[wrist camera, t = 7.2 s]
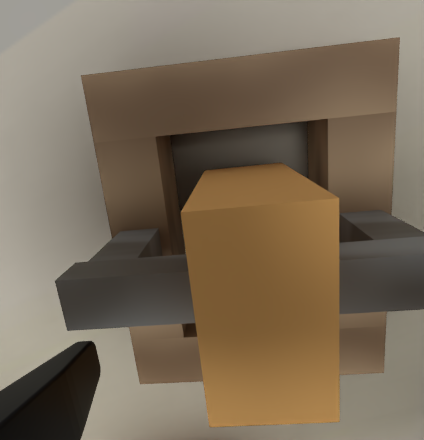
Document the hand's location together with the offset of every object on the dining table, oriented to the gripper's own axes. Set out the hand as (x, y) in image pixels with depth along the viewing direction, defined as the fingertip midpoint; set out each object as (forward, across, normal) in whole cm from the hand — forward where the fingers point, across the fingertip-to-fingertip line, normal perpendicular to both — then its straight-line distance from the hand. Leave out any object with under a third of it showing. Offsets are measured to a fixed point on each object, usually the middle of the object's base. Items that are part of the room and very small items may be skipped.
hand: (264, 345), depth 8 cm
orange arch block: (+10, 0, 0) cm, 10 cm away
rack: (+12, 0, 0) cm, 13 cm away
